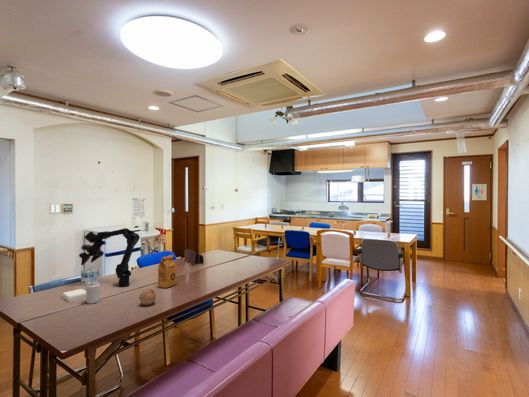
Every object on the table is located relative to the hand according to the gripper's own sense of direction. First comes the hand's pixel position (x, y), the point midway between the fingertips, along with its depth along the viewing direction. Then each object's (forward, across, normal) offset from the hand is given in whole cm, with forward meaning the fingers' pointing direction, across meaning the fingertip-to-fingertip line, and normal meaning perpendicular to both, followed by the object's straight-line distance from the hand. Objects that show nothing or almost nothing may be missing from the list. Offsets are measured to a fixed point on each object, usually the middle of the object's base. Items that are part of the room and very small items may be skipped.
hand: (86, 263), depth 224 cm
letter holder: (-15, -76, +52) cm, 94 cm away
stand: (+4, +28, +21) cm, 35 cm away
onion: (-25, +32, +66) cm, 78 cm away
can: (-6, +34, +37) cm, 50 cm away
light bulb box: (+11, 0, +10) cm, 15 cm away
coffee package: (-22, -4, +62) cm, 65 cm away
